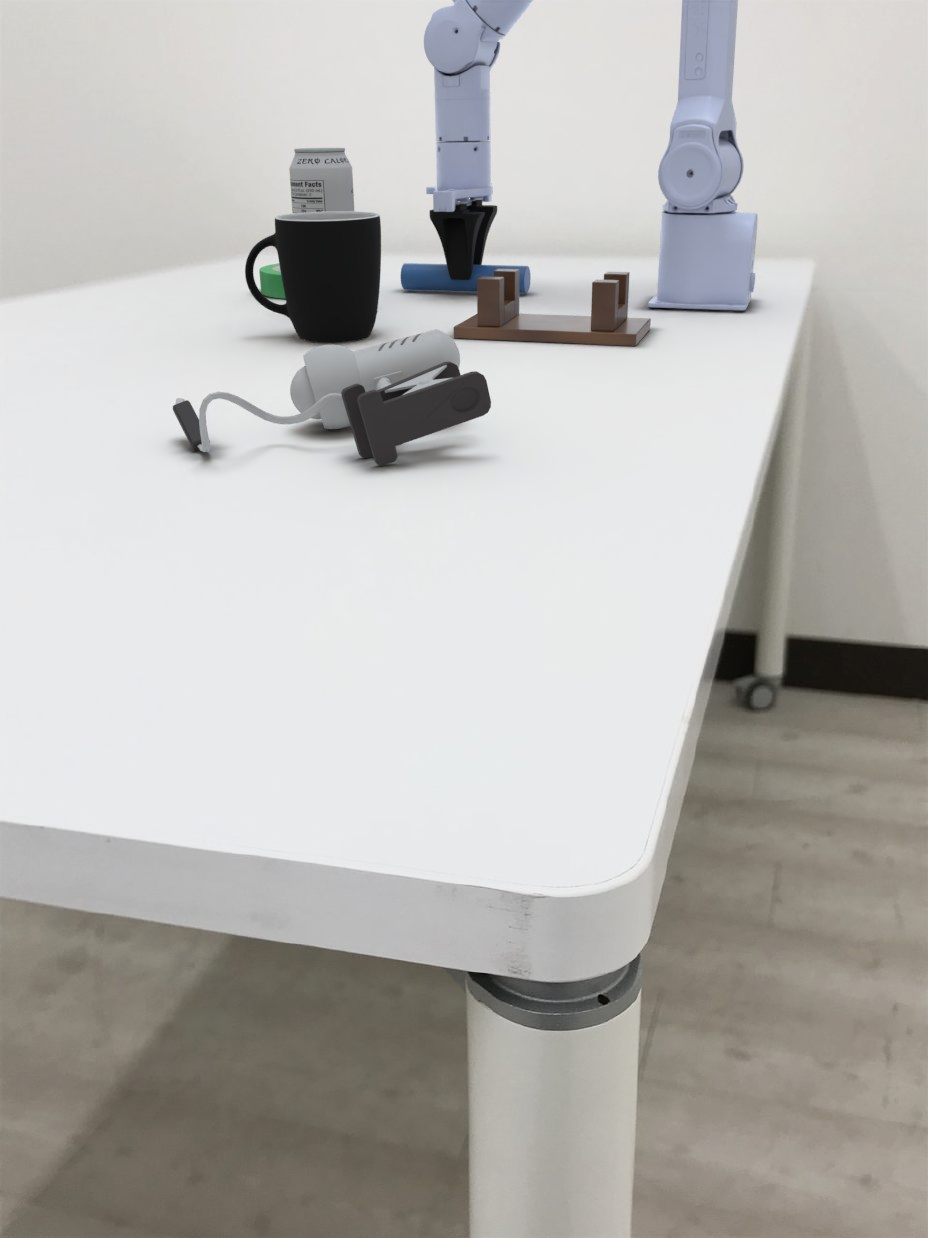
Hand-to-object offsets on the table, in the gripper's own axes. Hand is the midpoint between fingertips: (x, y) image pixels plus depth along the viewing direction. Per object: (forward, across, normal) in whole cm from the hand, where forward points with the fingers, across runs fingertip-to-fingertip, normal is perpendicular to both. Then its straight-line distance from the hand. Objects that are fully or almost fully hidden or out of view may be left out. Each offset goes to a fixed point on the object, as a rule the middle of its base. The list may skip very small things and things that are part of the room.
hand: (465, 277), depth 121 cm
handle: (+2, 0, 0) cm, 2 cm away
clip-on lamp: (+2, +60, +10) cm, 61 cm away
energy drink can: (+2, +14, -10) cm, 17 cm away
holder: (+2, +22, +15) cm, 27 cm away
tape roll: (+2, +3, -17) cm, 17 cm away
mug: (+2, +28, -5) cm, 28 cm away
